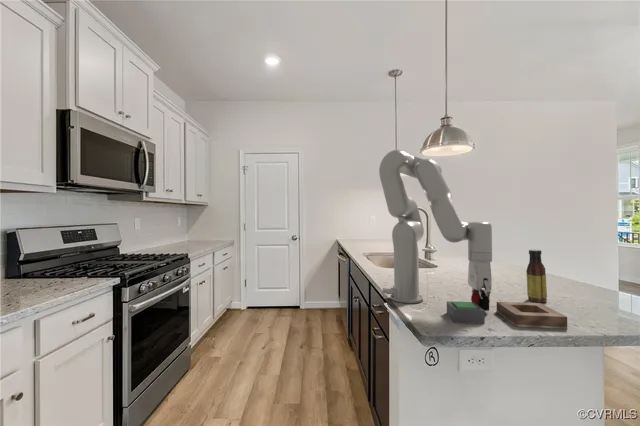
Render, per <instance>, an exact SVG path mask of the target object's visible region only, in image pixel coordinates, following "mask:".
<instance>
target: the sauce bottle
mask: <svg viewBox="0 0 640 426" xmlns="http://www.w3.org/2000/svg"><path fill="white" fill-rule="evenodd" d="M528 254H529V262H528V265H527V268H526V291H527V298H528V300H529V301H532V302H533V303H546V302H547V301H548V299H547V297H548V291H547V274H546V268H545V266H544V264H543V263H542V249H529V250H528Z"/></svg>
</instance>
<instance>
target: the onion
mask: <svg viewBox="0 0 640 426" xmlns="http://www.w3.org/2000/svg"><path fill="white" fill-rule="evenodd" d="M481 290H483V288H481ZM483 293H484V292H482V294H483ZM470 298H471V299H470V300H471V301H470V302H475V303H476V304H477V305H478V306H479V298H480V295H479V290H477V291H475V292H474V293H473V294H472V293H471V296H470ZM490 302H491V301H490V299H489V304H491V303H490Z"/></svg>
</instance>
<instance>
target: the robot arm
mask: <svg viewBox="0 0 640 426" xmlns="http://www.w3.org/2000/svg"><path fill="white" fill-rule="evenodd" d="M378 171H379V174H378V175H379V180H380V183H381V187H382V190H383V194H384V198H385V202H386V207H387V210H388V213H389V214H390V215H391V216H392V217H393V218H395V219H397V220H398V222H397V223H396V224H395V225H394V226H393V229H392V232H391V233H392V234H391V237H392V238H391V239H392V245H393V247H392V248H393V272H394V273H393V275H394V276H393V279H394V280H393V281H394V282H393V283H394V285H392V287H390V288H387V287H385V288H382V294H386V295H390V299H391V300H392V301H393V302H397V303H401V304H418V303H421V302H423V301H424V297H423V295H421V294H420V282H419V281H420V277H419V273H420V272H419V268H420V267H419V266H420V265H419V247H418V242H419V241H420V240H421V239H422V238H423V236H424V232H425V230H424V225H423V222H422V217H421V215H420V211H419V207H418V204H417V202H416V201H415V200H414V198H412V197H411V196H409V195H408V193H407V191H406V188H405V184H404V181H403V179H402V177H401V174H403V175H406V176H409V177H410V178H414V179H417V181H418V183H419V185H420V187H421V189H422V191H423V193H424V196H425V197H426V199H427V201H428V204H429V207H430V210H431V213H432V216H433V218H434V221H435V223H436V226H437V227H438V229H439V231H440V233H441V235H442V237H443V238H444V239H445V240H446V241H448V242H449V243H452V244H453V243H459V242H462V241H467V250H468V251H467V254H468V256H467V260H468V268H467V269H468V270H467V273H468V274H467V285H468V286H469V287H471V295H472V294H473V293H474V292H475V291H477V290H479V295H480V298H479V307H481V308H482V309H483V310H484V311H485V312H487V311H488V312H489V311H490V303H489V299H490V295H491V294H492V293H491V292H492V291H491V290H492V285H493V283H492V265H491V263H492V262H493V230H492V229H493V226H492V224H491V223H490V222H489V221H487V222H486V221H470V222H469V221H462V220H460V219H459V215H457V213H456V210H455V208H454V205H453V199H452V192H451V189H450V188H449V185H448V184H447V182H446V181H445V178H444V177H443V173H442V167H441V165H440V164H439V163H437V162H436V161H434V160H433V159H430V158H420V157H418V156H414V155H411V154H410V153H408V152H406V151H404V150H400V149H393V150H391V151H389V152H387V153H386V154H385V155H384V157H383V158H382V159H381V161H380V165H379V170H378ZM481 289H482V290H481ZM482 292H484V293H483V294H482Z"/></svg>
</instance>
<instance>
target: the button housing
mask: <svg viewBox="0 0 640 426" xmlns="http://www.w3.org/2000/svg"><path fill="white" fill-rule="evenodd" d="M471 302H472V301H471ZM472 303H473V304H474V305H475V306H476V307H478V309H456V308H455V306H454V305H453V304H452V301H448V300H447V301H446V314H447V315H448V316H449V317H450V318H451V320H452V321H453V323H466V324H467V323H468V324H485V321H486V320H485V318H486V317H485V312H486V311H484V310H483V309H482V308H481V307H479V306H478V305H477V304H476V303H475V302H472Z"/></svg>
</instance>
